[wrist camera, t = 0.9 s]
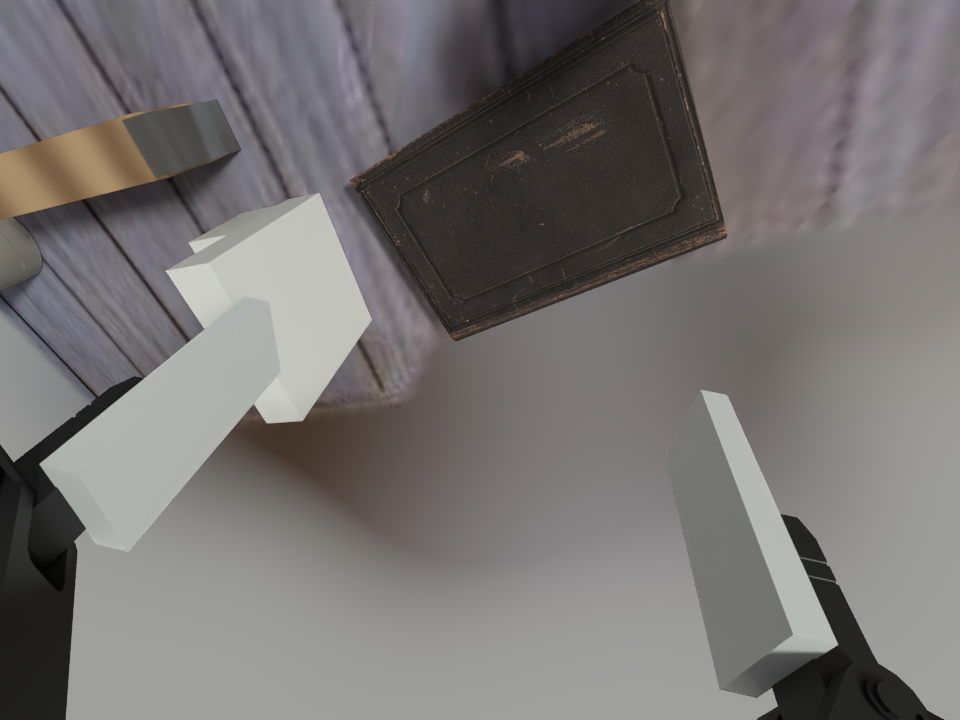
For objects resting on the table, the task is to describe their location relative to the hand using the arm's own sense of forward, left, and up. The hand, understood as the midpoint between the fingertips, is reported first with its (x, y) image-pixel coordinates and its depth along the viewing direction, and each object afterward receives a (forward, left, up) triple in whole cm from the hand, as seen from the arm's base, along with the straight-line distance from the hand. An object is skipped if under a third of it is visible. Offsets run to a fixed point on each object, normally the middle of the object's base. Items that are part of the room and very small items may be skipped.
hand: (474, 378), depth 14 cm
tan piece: (-8, -33, -24) cm, 41 cm away
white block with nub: (+4, -21, -24) cm, 32 cm away
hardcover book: (+2, 0, -25) cm, 25 cm away
